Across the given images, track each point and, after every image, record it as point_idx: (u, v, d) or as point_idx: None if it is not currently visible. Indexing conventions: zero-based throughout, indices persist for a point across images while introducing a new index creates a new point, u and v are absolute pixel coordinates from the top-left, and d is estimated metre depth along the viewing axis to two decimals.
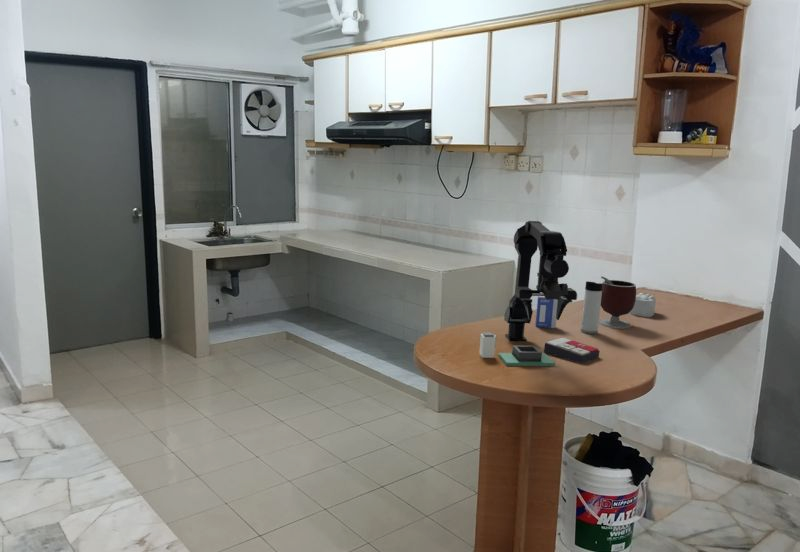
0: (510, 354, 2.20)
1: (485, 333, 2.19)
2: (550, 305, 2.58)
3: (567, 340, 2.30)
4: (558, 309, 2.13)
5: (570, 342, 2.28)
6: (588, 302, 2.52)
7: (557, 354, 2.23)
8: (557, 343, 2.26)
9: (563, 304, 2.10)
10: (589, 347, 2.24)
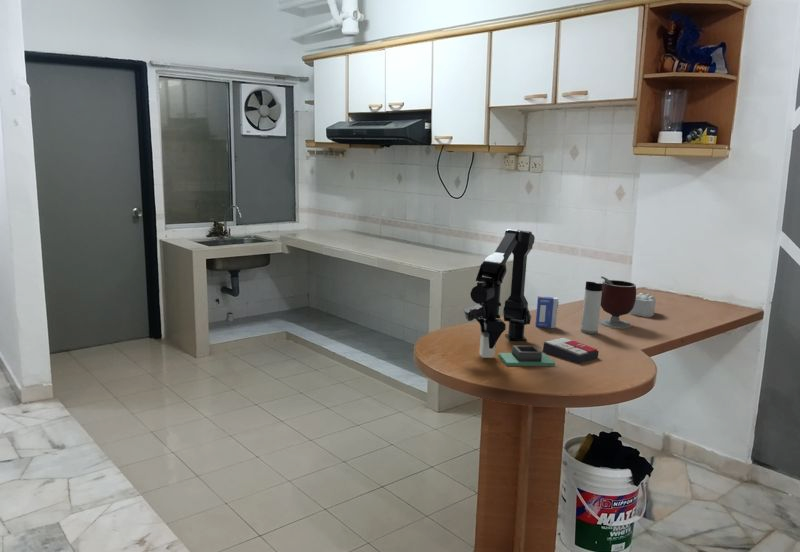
0: (510, 354, 2.20)
1: (485, 333, 2.19)
2: (550, 305, 2.58)
3: (567, 340, 2.30)
4: None
5: (570, 342, 2.28)
6: (588, 302, 2.52)
7: (555, 354, 2.24)
8: (556, 343, 2.26)
9: None
10: (588, 347, 2.24)
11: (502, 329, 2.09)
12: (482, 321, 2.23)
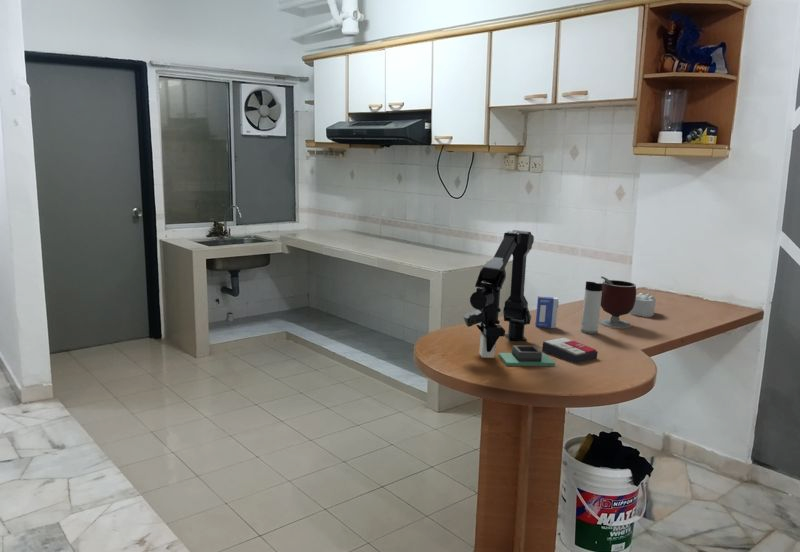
0: (510, 354, 2.20)
1: None
2: (550, 305, 2.58)
3: (567, 340, 2.30)
4: None
5: (569, 342, 2.28)
6: (588, 302, 2.52)
7: (553, 353, 2.24)
8: (555, 342, 2.27)
9: (485, 336, 2.16)
10: (587, 348, 2.23)
11: (501, 335, 2.10)
12: (483, 328, 2.21)
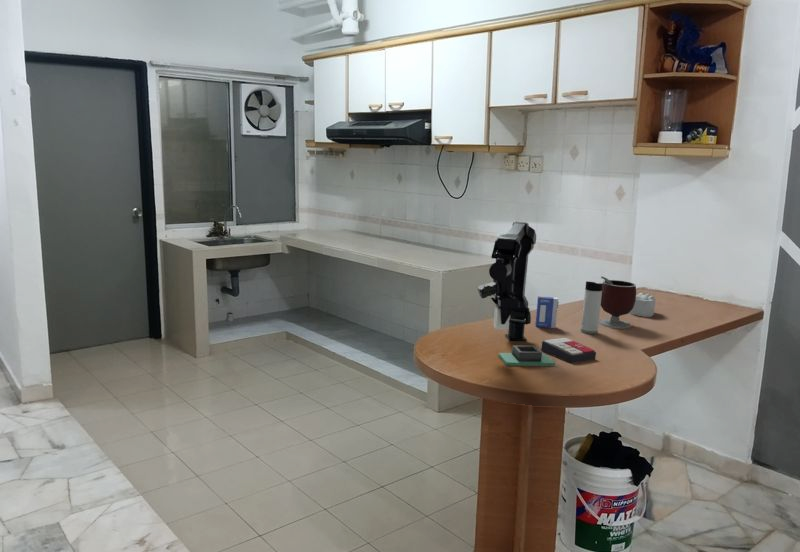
0: (510, 354, 2.20)
1: None
2: (550, 305, 2.58)
3: (568, 340, 2.30)
4: None
5: (569, 342, 2.28)
6: (588, 302, 2.52)
7: (552, 353, 2.25)
8: (554, 342, 2.27)
9: None
10: (585, 348, 2.23)
11: (516, 306, 2.07)
12: (498, 301, 2.18)
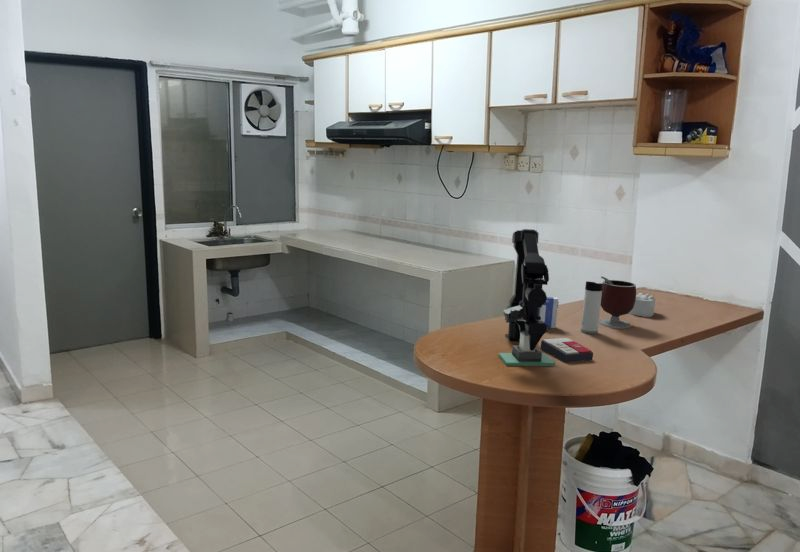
0: (510, 354, 2.20)
1: (525, 332, 2.15)
2: (550, 305, 2.58)
3: (568, 340, 2.30)
4: None
5: (568, 342, 2.28)
6: (588, 302, 2.52)
7: (549, 352, 2.26)
8: (553, 341, 2.28)
9: None
10: (583, 348, 2.22)
11: (544, 331, 2.06)
12: (521, 322, 2.20)
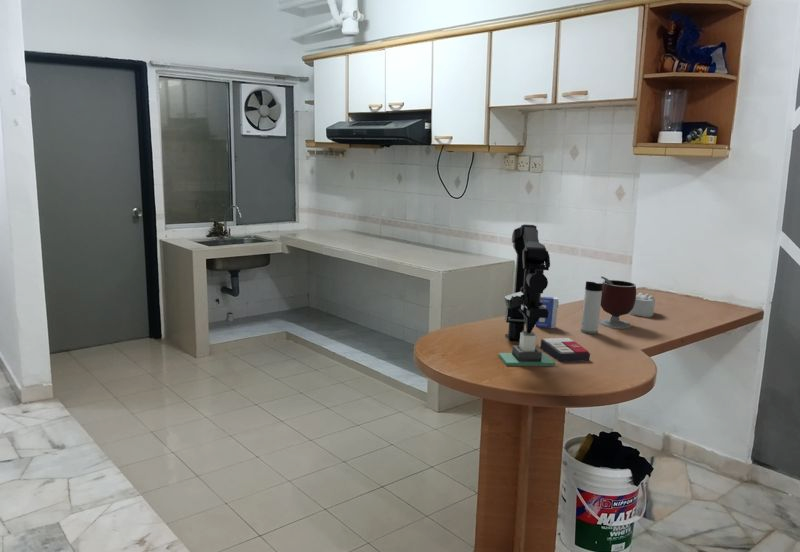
0: (510, 354, 2.20)
1: (525, 332, 2.15)
2: (550, 305, 2.58)
3: (568, 340, 2.30)
4: None
5: (567, 342, 2.28)
6: (588, 302, 2.52)
7: (547, 351, 2.27)
8: (552, 341, 2.29)
9: (525, 316, 2.13)
10: (580, 348, 2.22)
11: (545, 316, 2.05)
12: (526, 312, 2.14)
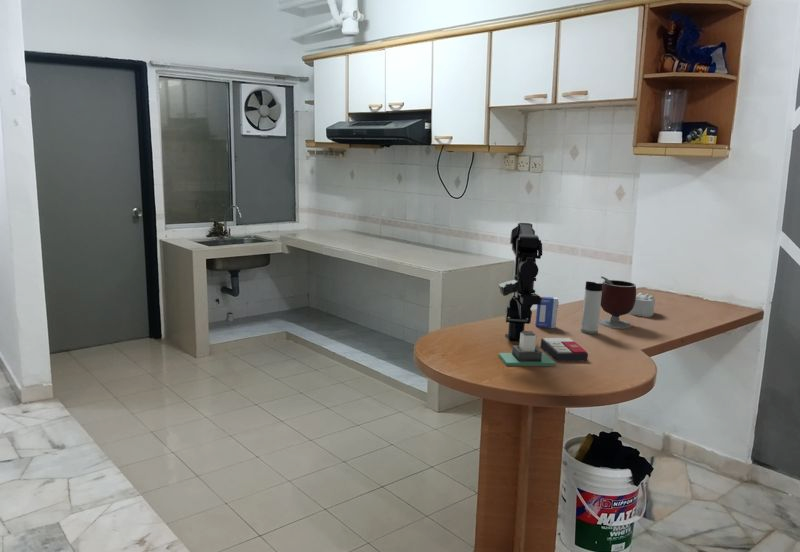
0: (510, 354, 2.20)
1: (525, 332, 2.15)
2: (550, 305, 2.58)
3: (569, 340, 2.30)
4: None
5: (567, 342, 2.28)
6: (588, 302, 2.52)
7: (546, 350, 2.27)
8: (552, 340, 2.29)
9: (519, 303, 2.20)
10: (578, 349, 2.22)
11: (538, 303, 2.12)
12: None
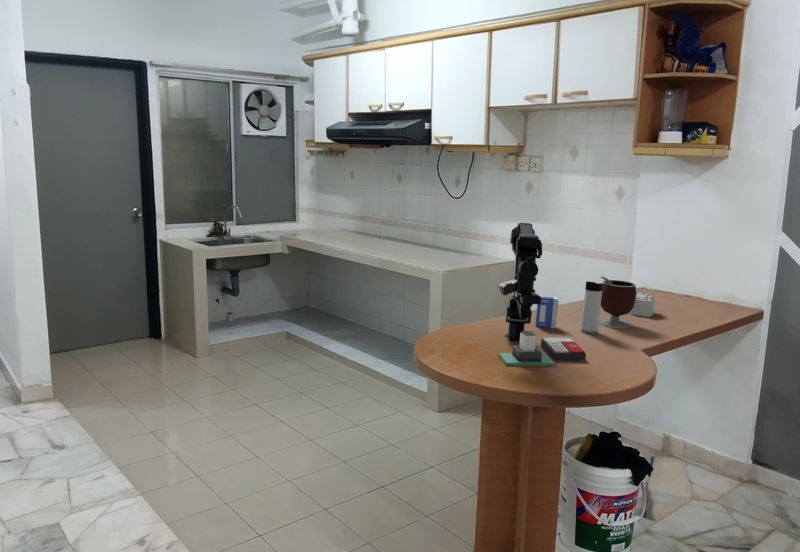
0: (510, 354, 2.20)
1: (525, 332, 2.15)
2: (550, 305, 2.58)
3: (569, 340, 2.30)
4: None
5: (567, 342, 2.28)
6: (588, 302, 2.52)
7: (545, 350, 2.28)
8: (551, 340, 2.29)
9: (519, 303, 2.20)
10: (577, 349, 2.22)
11: (538, 303, 2.12)
12: (520, 299, 2.22)
